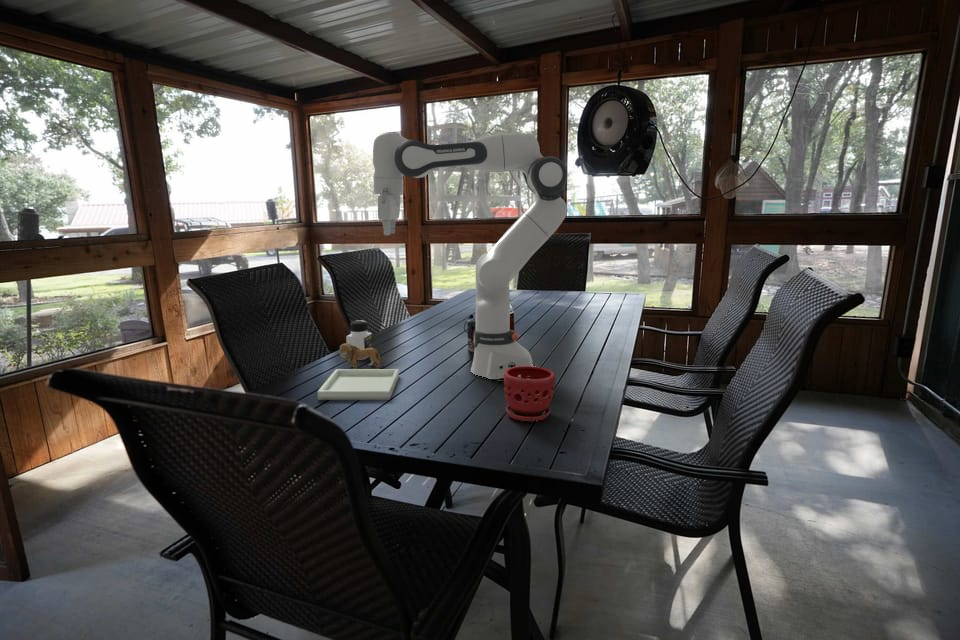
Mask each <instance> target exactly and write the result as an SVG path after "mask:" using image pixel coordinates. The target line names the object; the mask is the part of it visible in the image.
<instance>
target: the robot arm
mask: <svg viewBox="0 0 960 640" xmlns="http://www.w3.org/2000/svg"><path fill="white" fill-rule="evenodd" d="M372 164H373V165H372V166H373V168H374V174H373V194H374V195H377V218H378V220H379V221H381V222H382V228H383V235H384V236H390V235H391V234H395V233H396V221H397V220H398V219H399V218H400V212H401V196H402V195H404V176H405V177H409V178H410V177H411V178H417V179H420V178H424V177H426V176H427V175H430V173H431V172H432V171H433V169H438V168H452V167H469V168H472V169H475V170H477V171H480V172H484V173H485V172H486V173H505V172H514V171H515V172H521V173H522V176H523V178H524V181H525V183H526V186H527V187H528V189H529V190H530V191H531V192H532V193H533V194H535V196H534V200H533V202H532V203H531V205H530V206H529V207H528V208H527V209H526V210H525V211H524V212H523V213H522V215H520V217H518V219H517V220H516V221H514V223H513V224H512V225H510V227H508V229H507V230H506V231H505V232H504V233H503V235H502V236H501V237H500V238H499V240H498V241H497V242H496V243H495V244H494V245H493V247H492V248H491V249H490V250H489V251H487V252H485V253H483V254H482V255H480V256H479V258H478V259H477V261H476V264H475V329H474V331H473V347H474V353H473V359H472V363H471V364H472V365H471V368H470V370H471V371H470V373H471V372H472V373H473V374H472V373H471V374H472V375H474V374H475V375H474V376H476V375H478V376H477V377H479V376H482V377H481V378H483V377H486V378H488V379H500V378H504V372H505V371H506V370H507V369H509V368H513V367H519V366H533V364H534V363H533V359H532V358H533V357H532V355H531V353H530V351H529V350H528V349H526V348H525V347H524V346H522V345H521V344H520V343H519V342H517V340H519V336H518V334H517V333H516V332H515V331H514V330H513V329H510V327H511V326H510V322H511V321H510V318H511V300H510V299H511V298H510V297H511V296H510V283H511V282H512V280H513V279H514V278H515V277H516V276H517V275H518V274H519V272H520V271H521V270H522V268H524V266H525V265H526V264H527V263H528V261H529V260H530V259H531V257H532V256H533V255H534V254H535V253H536V252H537V251H538V250H539V249H540V248H541V247H542V246H543V245H544V244H545V243H546V242H547V241H548V239H549V238H550V237H551V236H552V235H554V234H555V232H556V231H557V230H558V228H559V227H560V226H561V224H562V223H563V221H565V219H566V217H567V215H568V213H569V211H568V209H569V208H568V206H567V204H566V201H565V200H564V199H563V198H562V196H563V194H564V191H565V187H566V184H567V181H568V171H567V170H568V169H567V167H566V165H565V163H564V162H563V161H562V160H561V159H559V158H558V157H556V156H550V155H548V156H544V155H542V154H541V151H540V144H539V141H538V139H537V138H536V136H534V135H533V134H530V133H523V132H522V133H521V132H506V133H504V132H502V133H496V134H490V135H485V136H482V137H479V138H475V139H472V140H468V141H465V142H456V143H445V144H444V143H442V144H440V143H439V144H429V143H425V142H422V141H420V140H417V139H408V138H405V137H404V136H402V135H401V134H400V133H399V132H397V131H389V132H382V133H380V134H378V135H376V136H375V138H374V140H373V145H372ZM396 219H397V220H396ZM532 363H533V364H532ZM536 366H537V365H536ZM536 366H535V367H536ZM533 367H534V366H533ZM518 377H521V375H518ZM486 378H485V379H486ZM488 379H487V380H488Z"/></svg>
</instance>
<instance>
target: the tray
mask: <svg viewBox="0 0 960 640" xmlns="http://www.w3.org/2000/svg"><path fill="white" fill-rule="evenodd" d="M399 378H400V369H399V368H388V369H387V368H383V369H382V368H381V369H380V368H370V369H369V368H363V369H362V368H361V369H359V368H356V369H352V368H350V369H349V368H347V369H344V368H336V369H334V370H333V372H332V373H331V374H330V376H328V378H327V379H326V381H325V382H324V383H323V384H322V385H321V387H320V388H319V389H318V390H317V400H318V401H335V400H336V401H344V400H345V401H377V400H378V401H382V400H384V401H387V400H388V401H389V400H391V397H392V394H393V392H394V390H395V387H396V385H397V382H398V380H399Z"/></svg>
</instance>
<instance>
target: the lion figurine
mask: <svg viewBox="0 0 960 640" xmlns="http://www.w3.org/2000/svg"><path fill="white" fill-rule="evenodd" d="M339 355H340V356H341V358H342V359H345V360H346V361H348V362H350V364H351V365H350V366H349V368H350V367H353V368H351V369H357V368H358V366H357V361H363V360H366V359H368V358H369V359H370V363H368V367H371V366H373V364H374V363H376V364H377V365H376V369H380V368H381V365H384V364H385V362H384V361H382V360H381V356H380V354H379V351H378V349H376V348H367V349H358V348H357V347H356V346H353V345H351V344H347V342H346V343H342V344H341V345H339Z"/></svg>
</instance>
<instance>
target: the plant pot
mask: <svg viewBox="0 0 960 640" xmlns="http://www.w3.org/2000/svg"><path fill="white" fill-rule="evenodd" d="M518 375H521V377H520V378H518ZM527 376H529V377H530V378H527ZM555 376H556V375H555V373H554V371H552V370H550V369H547V368H545V367H539V366H537V367H533V366H519V367H513V368H509V369H507V370H506V371H505V372H504V380H503V385H504V386H503V391H504V397H505V401H506V403H507V406H506V407H505V411H506V414H507V415H508V417H510V418H512V419H513V418H514V419H513V420H516V419H518V420H525V421H533V420H541V419H543V420H545V419H547V418H548V417H549V416H550V415H549V414H551V408H550V407H549V406H550V404H551V402H552V399H553V396H554V392H555V391H554V390H555V383H556V382H555V380H556V377H555ZM537 378H538V379H537ZM544 411H545V413H544V414H543V415H542V413H543V412H544ZM546 417H547V418H546ZM544 418H545V419H544ZM518 420H517V421H518ZM541 421H542V420H541Z"/></svg>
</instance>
